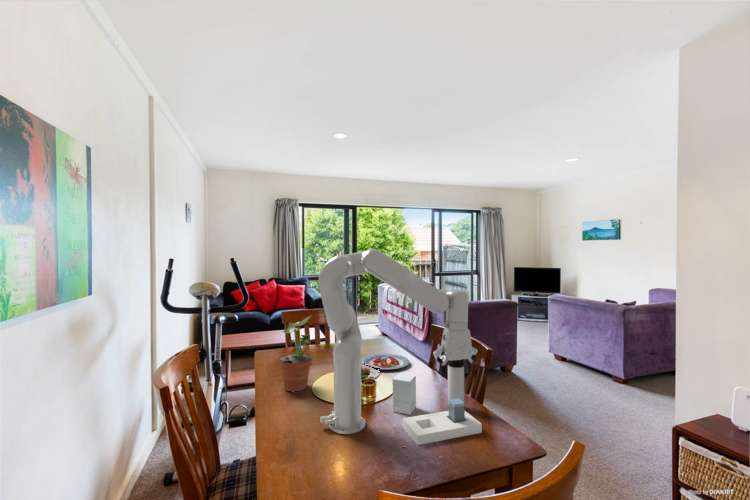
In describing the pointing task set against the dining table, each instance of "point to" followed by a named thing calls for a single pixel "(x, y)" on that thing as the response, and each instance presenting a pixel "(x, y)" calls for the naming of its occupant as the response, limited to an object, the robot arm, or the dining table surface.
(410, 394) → the supplement box
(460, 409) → the plug
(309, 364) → the potted plant
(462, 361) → the travel mug
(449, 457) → the dining table surface
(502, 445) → the dining table surface
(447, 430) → the socket panel
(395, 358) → the ceramic plate
